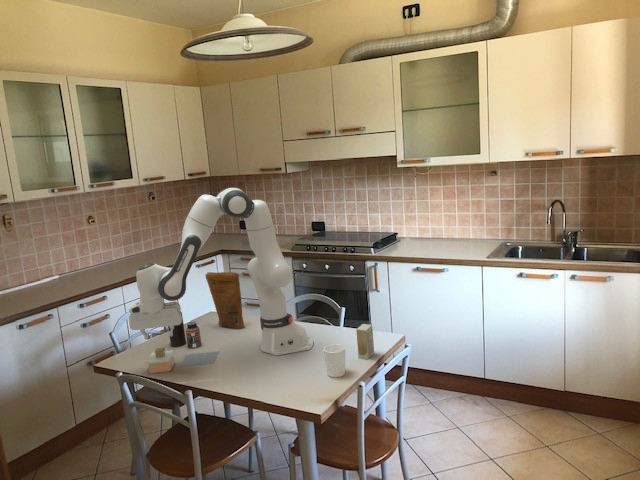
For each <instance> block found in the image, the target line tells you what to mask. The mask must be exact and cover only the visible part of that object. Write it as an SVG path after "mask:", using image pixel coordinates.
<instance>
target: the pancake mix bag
mask: <svg viewBox="0 0 640 480" xmlns="http://www.w3.org/2000/svg"><path fill="white" fill-rule="evenodd" d="M204 275H205V279H206V283H207V285H208V288H209V292H210V294H211V297H212V301H213V304H214V307H215V310H216V314H217V316H218V325H219V327H220V328H225V329H233V330H242V329H245V328H246V327H245V323H244V318H243V306H242V305H243V304H242V292H241V283H240V274H239V273H237V272H229V271H228V272H227V271H226V272H222V271H221V272H214V271H213V272H211V271H209V272H206V273H205V274H204Z"/></svg>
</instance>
